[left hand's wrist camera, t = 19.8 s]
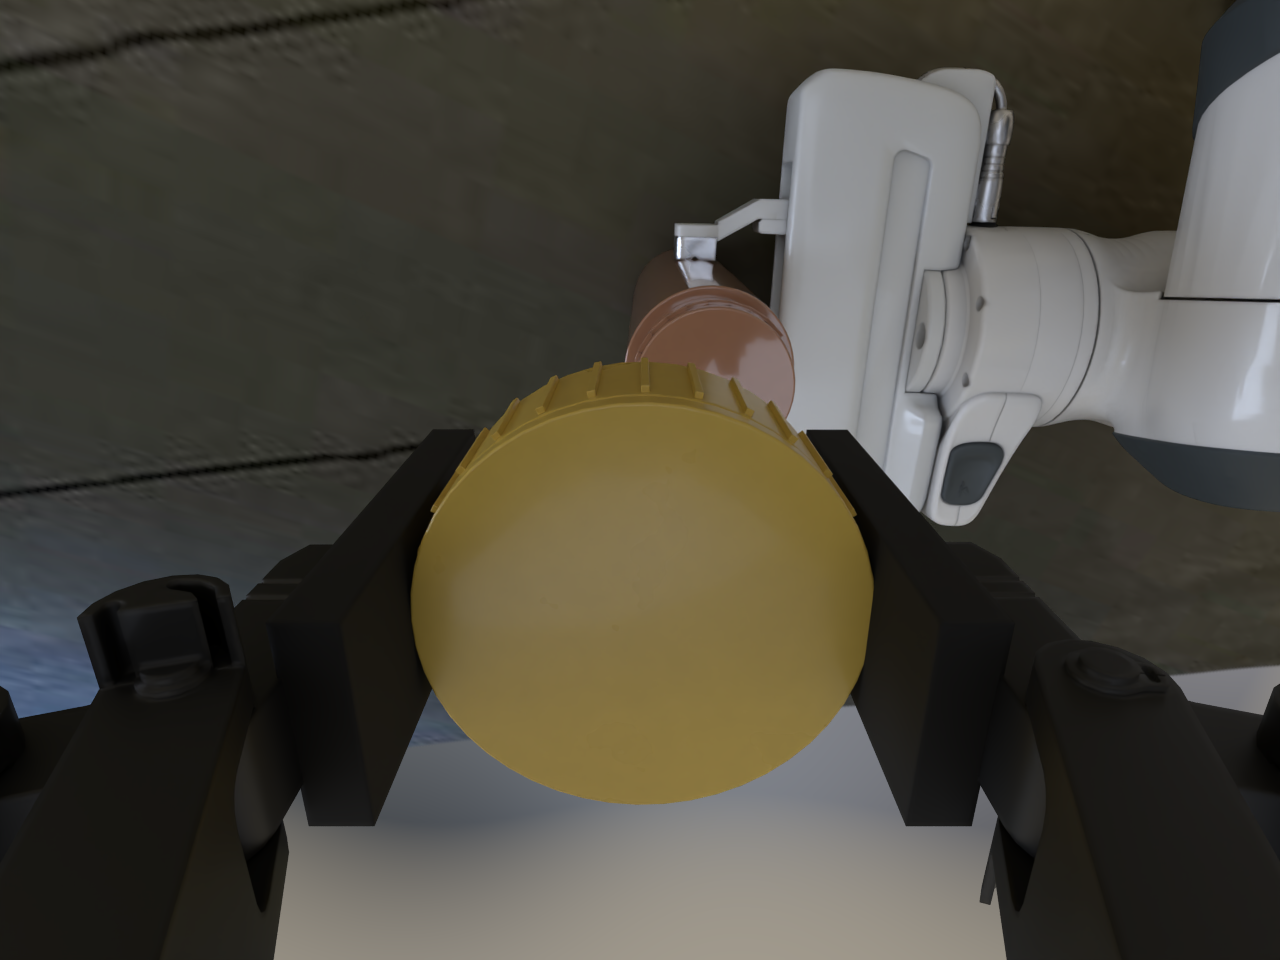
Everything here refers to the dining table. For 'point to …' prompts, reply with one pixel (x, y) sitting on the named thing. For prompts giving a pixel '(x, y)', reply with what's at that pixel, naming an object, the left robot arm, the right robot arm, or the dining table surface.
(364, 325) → the dining table surface
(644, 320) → the jar
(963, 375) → the right robot arm
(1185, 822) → the left robot arm
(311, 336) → the dining table surface
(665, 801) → the lid
